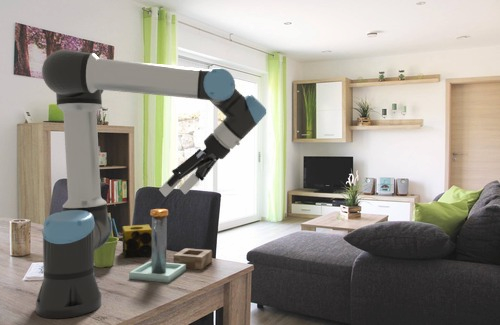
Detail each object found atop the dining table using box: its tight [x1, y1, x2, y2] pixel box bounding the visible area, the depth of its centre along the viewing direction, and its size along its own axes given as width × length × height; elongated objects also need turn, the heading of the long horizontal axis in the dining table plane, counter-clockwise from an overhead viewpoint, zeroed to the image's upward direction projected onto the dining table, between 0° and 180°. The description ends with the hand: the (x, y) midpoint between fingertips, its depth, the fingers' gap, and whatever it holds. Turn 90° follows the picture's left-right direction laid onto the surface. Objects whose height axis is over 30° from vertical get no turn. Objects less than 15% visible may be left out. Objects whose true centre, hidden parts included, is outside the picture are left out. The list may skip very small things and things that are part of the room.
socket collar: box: [173, 247, 213, 270], centre depth 148 cm, size 10×10×4 cm
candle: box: [122, 224, 152, 259], centre depth 161 cm, size 10×10×10 cm
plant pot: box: [94, 236, 120, 268], centre depth 145 cm, size 9×9×9 cm
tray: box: [128, 260, 187, 283], centre depth 136 cm, size 13×13×2 cm
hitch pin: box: [150, 208, 169, 274], centre depth 135 cm, size 5×5×20 cm
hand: (172, 192), depth 127 cm, fingers open, 13 cm apart
